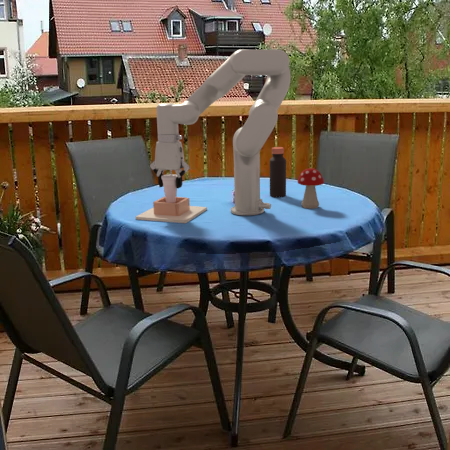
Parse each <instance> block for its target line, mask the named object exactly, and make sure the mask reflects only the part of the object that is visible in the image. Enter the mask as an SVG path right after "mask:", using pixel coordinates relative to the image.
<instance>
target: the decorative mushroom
mask: <svg viewBox="0 0 450 450" xmlns="http://www.w3.org/2000/svg"><path fill="white" fill-rule="evenodd" d="M324 182H325V181H324V177H323V175H322V173H321V172H320V171H319V170H318V169H317V168H312V167H309V168H305V169H304V170H302V171H301V172H300V174H299V176H298V179H297V184H298V185H301V186H305V189H304V192H303V198H302V201H301V202H300V204H301V206H302V207H301V208H303V209H312V210H313V209H318V208H319V206H320V201H319V200H318V195H317V189H316V187H317V186H322V185H323V184H324Z"/></svg>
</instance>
